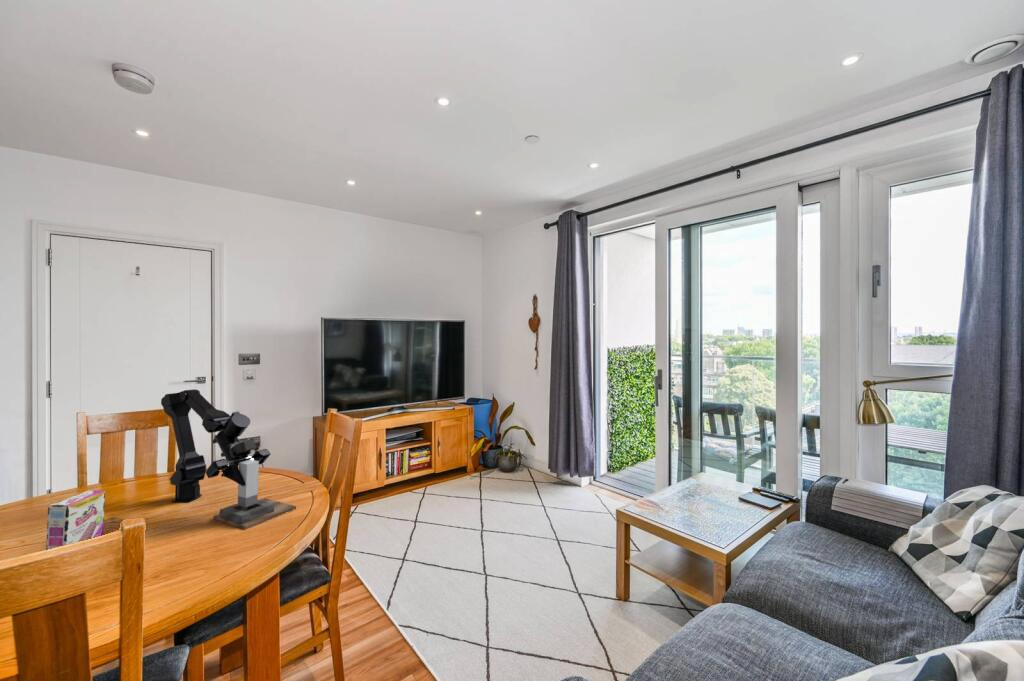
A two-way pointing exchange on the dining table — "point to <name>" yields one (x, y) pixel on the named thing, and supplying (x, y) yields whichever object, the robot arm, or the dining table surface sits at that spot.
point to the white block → (248, 483)
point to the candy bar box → (75, 519)
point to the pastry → (111, 524)
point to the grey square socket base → (253, 513)
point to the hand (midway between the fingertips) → (250, 483)
